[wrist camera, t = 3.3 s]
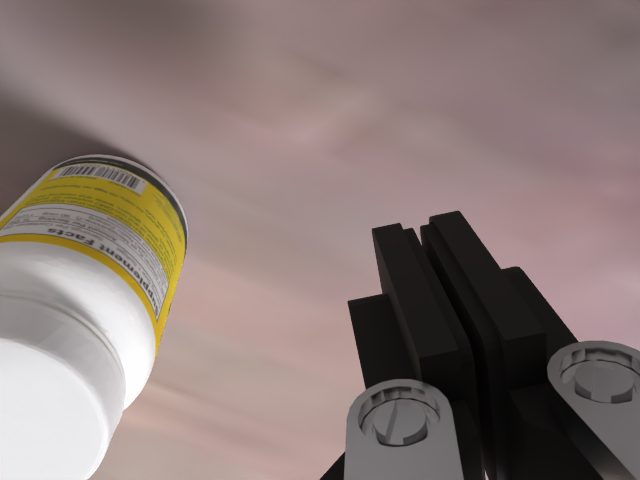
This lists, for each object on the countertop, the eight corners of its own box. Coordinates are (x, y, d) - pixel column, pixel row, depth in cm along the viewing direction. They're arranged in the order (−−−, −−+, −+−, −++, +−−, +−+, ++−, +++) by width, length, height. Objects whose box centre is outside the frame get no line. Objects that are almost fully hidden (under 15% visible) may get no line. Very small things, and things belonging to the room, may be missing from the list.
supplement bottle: (98, 317, 19) (-19, 556, 11) (-7, 202, 17) (-232, 401, 10) (222, 248, 18) (182, 457, 11) (126, 119, 16) (-6, 264, 9)
